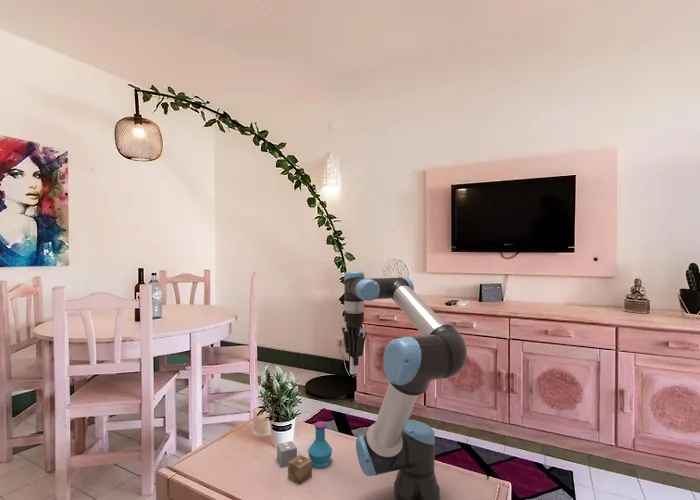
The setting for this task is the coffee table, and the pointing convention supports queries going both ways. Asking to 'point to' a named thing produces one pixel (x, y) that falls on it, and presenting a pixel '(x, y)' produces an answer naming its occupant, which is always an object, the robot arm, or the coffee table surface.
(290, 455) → the slate block
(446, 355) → the robot arm
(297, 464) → the walnut block
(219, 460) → the coffee table surface
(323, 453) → the perfume bottle
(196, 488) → the coffee table surface
